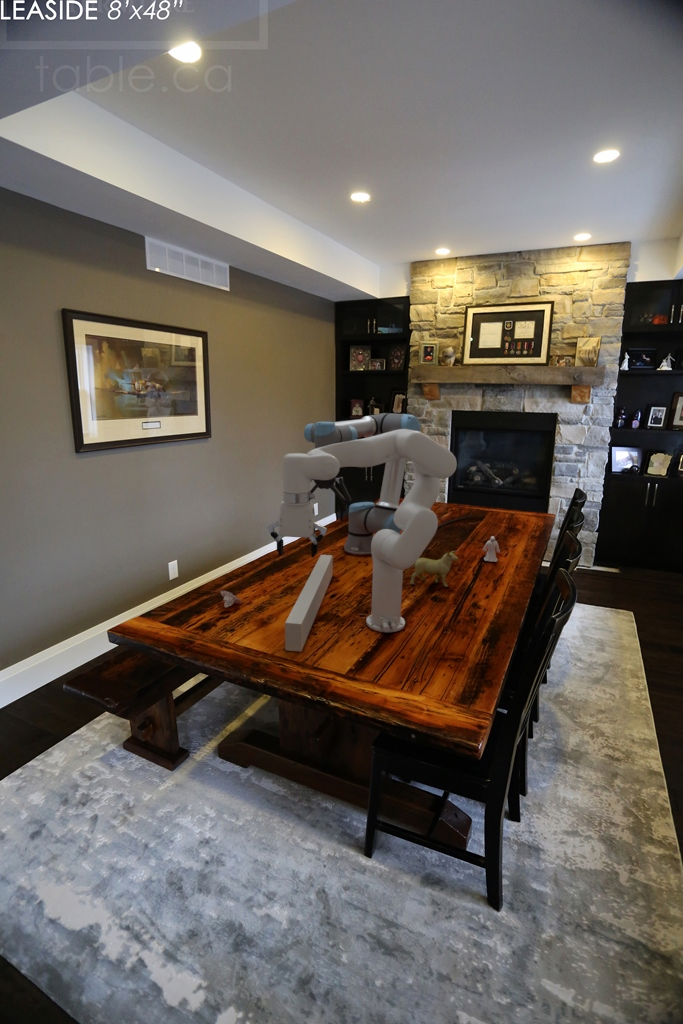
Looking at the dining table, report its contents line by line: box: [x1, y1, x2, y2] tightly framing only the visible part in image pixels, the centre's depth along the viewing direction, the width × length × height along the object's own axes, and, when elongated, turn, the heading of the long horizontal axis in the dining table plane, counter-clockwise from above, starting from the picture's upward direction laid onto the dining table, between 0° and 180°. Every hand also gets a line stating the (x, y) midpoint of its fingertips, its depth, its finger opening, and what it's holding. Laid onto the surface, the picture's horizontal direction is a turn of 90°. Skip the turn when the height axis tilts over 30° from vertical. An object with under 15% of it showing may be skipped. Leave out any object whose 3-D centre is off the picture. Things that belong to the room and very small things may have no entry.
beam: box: [284, 554, 334, 652], centre depth 173 cm, size 61×5×9 cm, turn 173°
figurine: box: [482, 535, 501, 563], centre depth 223 cm, size 8×8×12 cm
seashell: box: [219, 590, 242, 609], centre depth 173 cm, size 8×5×8 cm
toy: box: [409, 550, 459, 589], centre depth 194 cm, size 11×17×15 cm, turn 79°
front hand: (297, 555), depth 145 cm, fingers open, 9 cm apart
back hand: (324, 519), depth 191 cm, fingers open, 13 cm apart
